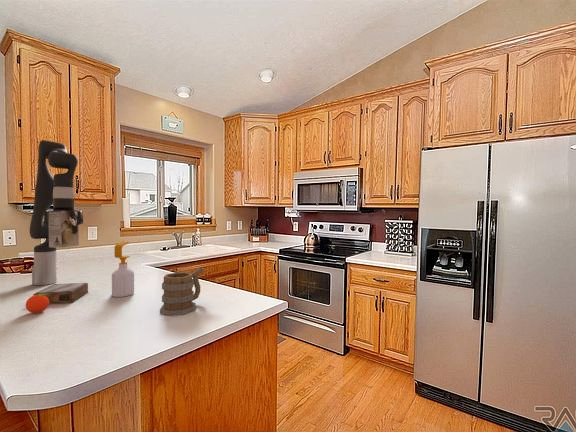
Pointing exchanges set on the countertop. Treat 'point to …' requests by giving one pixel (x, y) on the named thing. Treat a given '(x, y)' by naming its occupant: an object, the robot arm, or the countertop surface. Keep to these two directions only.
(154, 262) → the countertop surface
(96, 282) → the countertop surface
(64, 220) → the coffee box
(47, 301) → the clementine
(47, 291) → the dock
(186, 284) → the tankard
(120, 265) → the soap bottle
